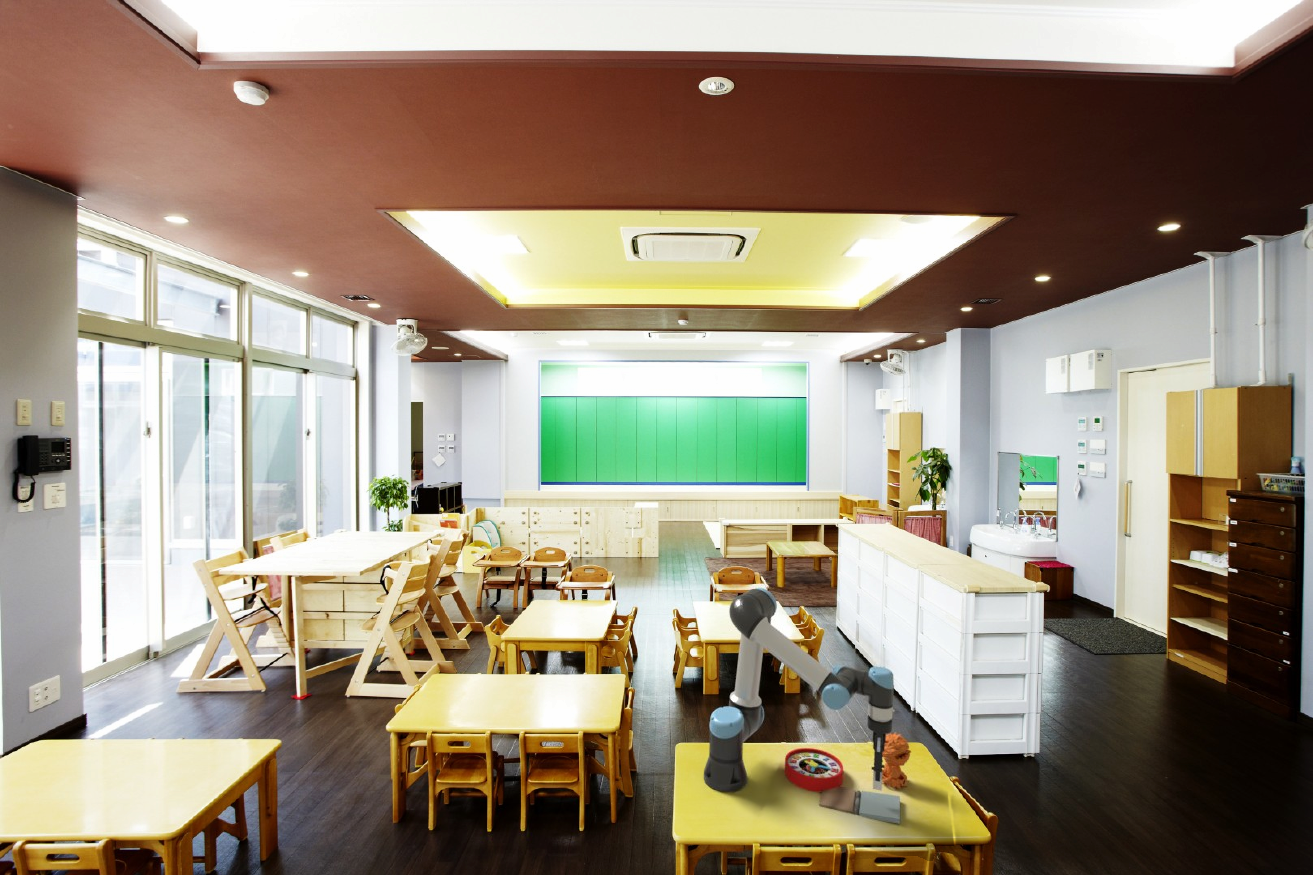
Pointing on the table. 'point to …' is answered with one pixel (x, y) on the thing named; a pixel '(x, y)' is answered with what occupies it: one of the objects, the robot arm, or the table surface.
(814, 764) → the toy clock
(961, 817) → the table surface
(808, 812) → the table surface
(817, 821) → the table surface
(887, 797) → the hinge leaf
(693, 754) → the table surface
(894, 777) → the orange figurine
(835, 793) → the hinge base
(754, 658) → the robot arm
